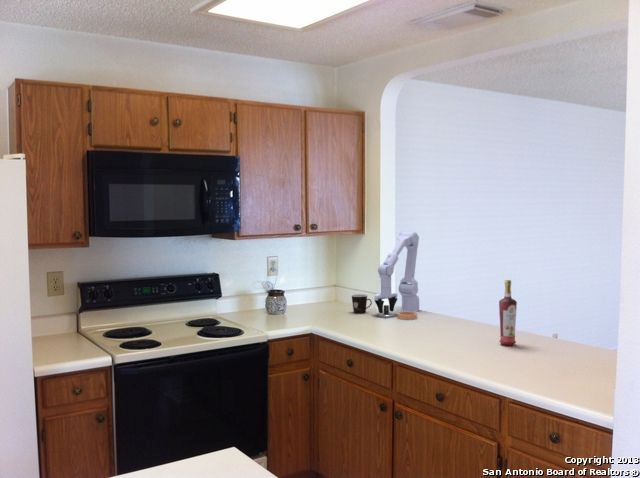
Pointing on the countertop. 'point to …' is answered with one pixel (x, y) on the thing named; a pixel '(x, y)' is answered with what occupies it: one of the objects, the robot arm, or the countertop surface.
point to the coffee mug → (360, 303)
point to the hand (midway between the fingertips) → (386, 312)
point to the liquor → (507, 317)
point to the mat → (384, 317)
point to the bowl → (407, 315)
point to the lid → (386, 312)
